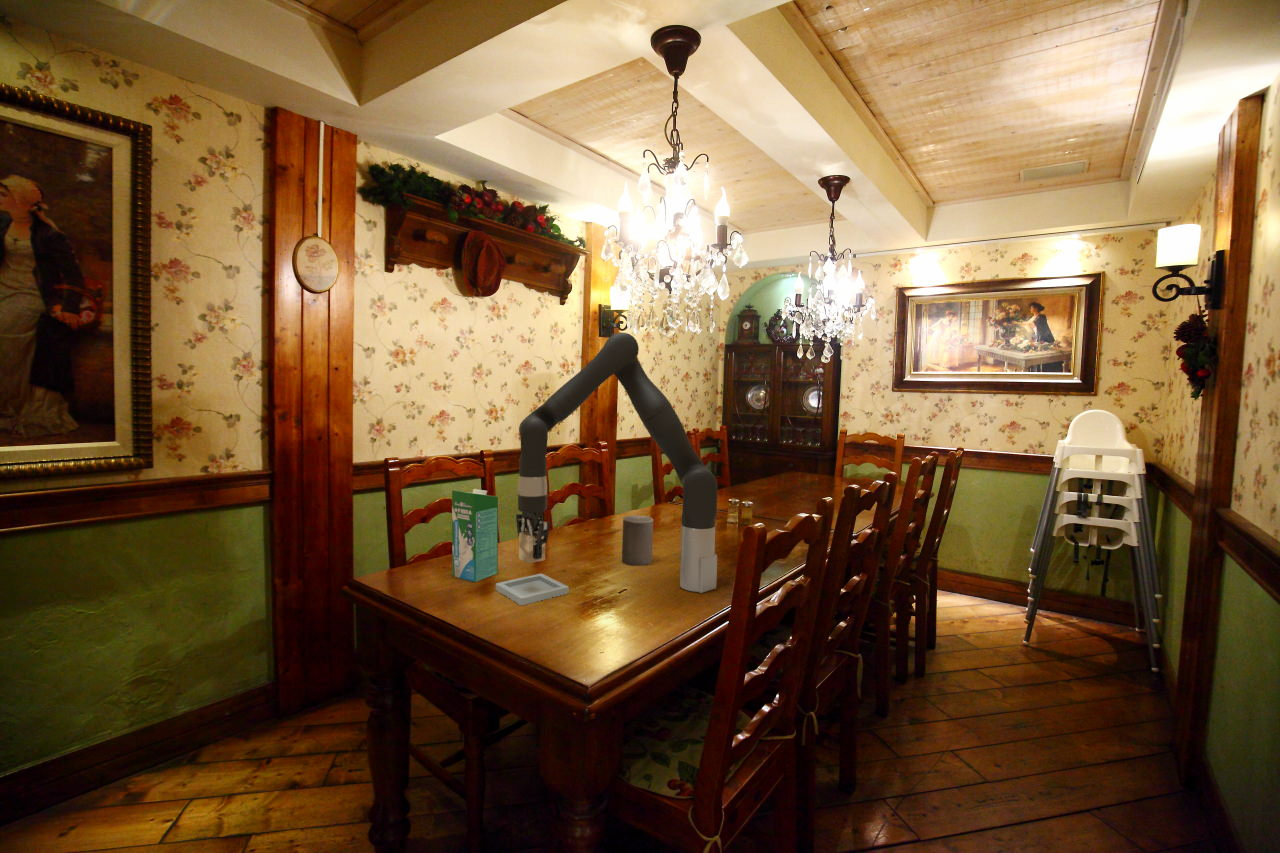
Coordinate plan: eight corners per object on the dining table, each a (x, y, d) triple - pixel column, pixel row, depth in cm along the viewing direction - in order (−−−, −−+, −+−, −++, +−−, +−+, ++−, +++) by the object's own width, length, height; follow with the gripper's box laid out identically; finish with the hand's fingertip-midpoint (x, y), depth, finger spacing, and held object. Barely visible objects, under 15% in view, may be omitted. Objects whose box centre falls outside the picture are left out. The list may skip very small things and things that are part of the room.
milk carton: (498, 573, 167) (498, 488, 165) (474, 582, 159) (474, 493, 158) (475, 568, 172) (475, 485, 170) (452, 576, 164) (451, 489, 162)
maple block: (545, 560, 152) (545, 533, 151) (528, 563, 149) (528, 536, 148) (535, 555, 156) (535, 530, 155) (519, 558, 152) (519, 532, 152)
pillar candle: (617, 563, 178) (618, 516, 177) (627, 555, 188) (628, 510, 186) (647, 567, 175) (649, 519, 174) (655, 558, 185) (657, 512, 184)
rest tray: (568, 593, 152) (568, 586, 152) (521, 605, 143) (521, 598, 143) (541, 579, 162) (541, 573, 162) (495, 590, 153) (495, 583, 153)
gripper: (559, 495, 148) (558, 560, 149) (531, 487, 159) (531, 547, 160) (533, 498, 143) (533, 565, 144) (506, 490, 154) (506, 552, 155)
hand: (532, 555), depth 152 cm, fingers closed on maple block, 5 cm apart
